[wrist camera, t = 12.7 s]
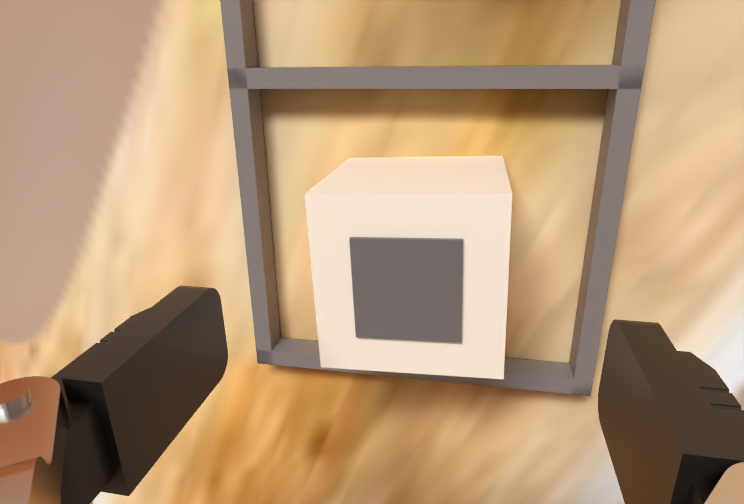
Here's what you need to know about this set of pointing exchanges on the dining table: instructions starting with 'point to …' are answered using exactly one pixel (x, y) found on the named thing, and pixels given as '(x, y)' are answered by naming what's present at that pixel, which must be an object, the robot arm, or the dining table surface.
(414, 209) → the white and grey cube
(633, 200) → the dining table surface
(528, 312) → the dining table surface
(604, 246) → the frame
